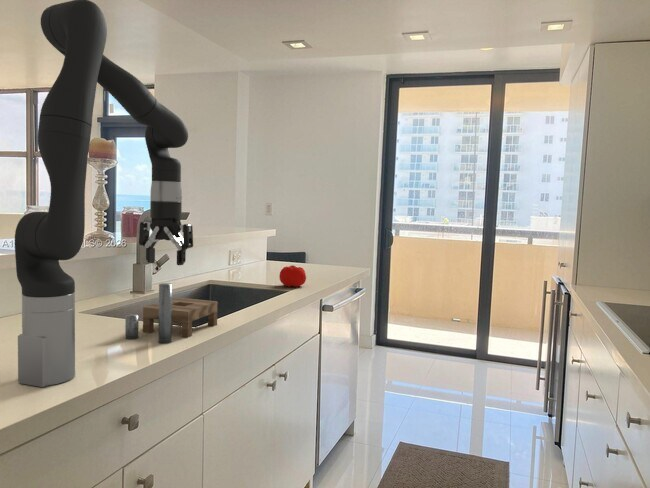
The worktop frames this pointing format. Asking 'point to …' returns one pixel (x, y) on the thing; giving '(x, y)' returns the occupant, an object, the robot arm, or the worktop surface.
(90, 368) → the worktop surface
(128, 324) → the short pin
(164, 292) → the long pin
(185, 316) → the wooden square-hole block
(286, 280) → the tomato
